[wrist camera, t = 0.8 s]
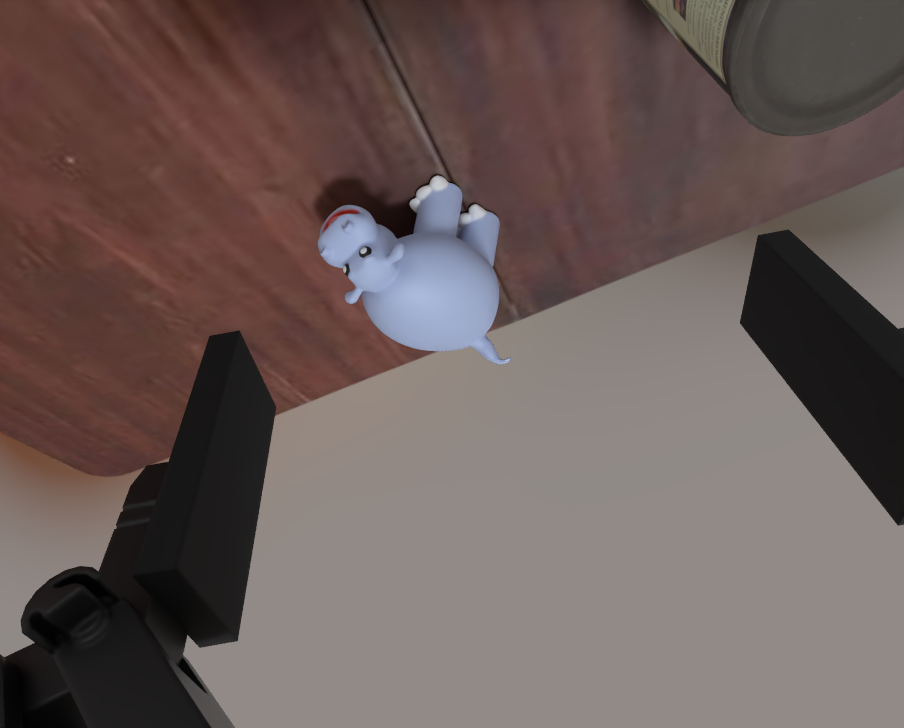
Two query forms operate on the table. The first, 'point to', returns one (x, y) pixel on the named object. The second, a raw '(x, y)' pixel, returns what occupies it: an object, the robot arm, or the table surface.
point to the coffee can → (794, 56)
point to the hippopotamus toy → (422, 270)
